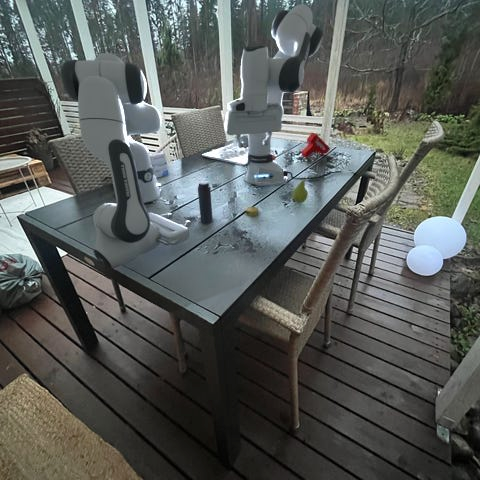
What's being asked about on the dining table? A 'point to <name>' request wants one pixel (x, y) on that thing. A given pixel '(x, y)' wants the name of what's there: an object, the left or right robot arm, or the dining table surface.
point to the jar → (205, 202)
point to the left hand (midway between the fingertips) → (180, 218)
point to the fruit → (300, 192)
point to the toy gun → (314, 146)
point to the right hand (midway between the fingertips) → (253, 146)
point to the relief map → (229, 154)
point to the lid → (252, 211)
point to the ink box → (159, 164)
